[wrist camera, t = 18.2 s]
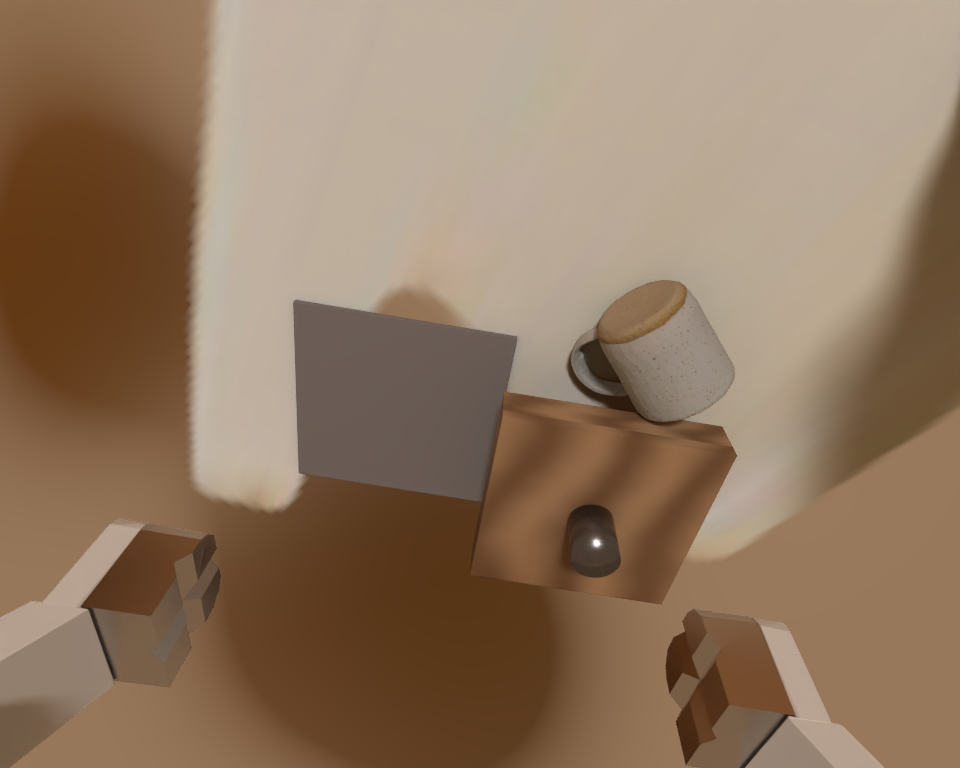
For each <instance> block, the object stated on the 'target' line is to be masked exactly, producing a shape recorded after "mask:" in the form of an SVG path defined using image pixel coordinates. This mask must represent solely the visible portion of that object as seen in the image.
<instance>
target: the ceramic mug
mask: <svg viewBox="0 0 960 768" xmlns="http://www.w3.org/2000/svg"><path fill="white" fill-rule="evenodd" d="M598 339H599V342H600V345H601V347H602V350H603V352H604V354H605V356H606V357H607V359H608V361H609V363H610V364H611V366H612V367H613V369H614V370H615V372H616V374H617V376H618V377H619V379H620V381H621V383H619V382H610V381H606V380H603V379H601V378H598V377H596V376H595V375H594V374H593V373H591V371H590V370H589V368H588V366H587V364H586V362H585V360H584V354H583V353H582V352H581V350H580V348H581V347H582V346H583V345H585V344H587V343H589V342H591V341H594V340H598ZM571 366H572V369H573V371H574V373H575V375H576V377H577V378H578V379H579V381H580V382H581V383H582V384H583V385H585V386H586V387H587V388H589V389H591V390H593V391H595V392H597V393H600V394H604V395H609V396H629V398H630V400H631V401H632V403H633V405H634V407H635V408H636V410H637V411H638V413H639V414H640V415H641V416H643V417H644V418H646V419H648V420H652V421H657V422H670V421H677V420H681V419H685V418H688V417H690V416H693V415H696V414H698V413H700V412H702V411H704V410H705V409H707V408H709V407H710V406H712V405H713V404H714V403H716V402H717V401H718V400H719V399H721V398H722V396H723V395H725V393H726V392H727V390H728V389H729V388H730V386H731V384H732V382H733V380H734V375H735V371H734V366H733V363H732V361H731V360H730V358H729V356H728V355H727V353H726V351H725V349H724V348H723V346H722V344H721V342H720V341H719V339H718V337H717V335H716V333H715V331H714V330H713V328H712V327H711V325H710V323H709V322H708V320H707V318H706V316H705V314H704V313H703V311H702V309H701V307H700V305H699V303H698V301H697V300H696V298H695V297H694V296H693V295H692V294H691V292H690V291H689V290H688V289H687V288H686V287H685V286H684V285H683V284H681V283H680V282H676V281H669V280H661V281H655V282H651V283H647V284H645V285H643V286H640V287H638V288H636V289H634V290H632V291H630V292H629V293H627V294H625V295H624V296H622V297H621V298H619V299H618V300H617V301H615V302H614V303H613V304H612V305H611V306H610V307H609V308H608V309H607V310H606V311H605V313H604V314H603V315H602V317H601V319H600V321H599V324H598V327H597V328H593V329H591V330H589V331H587V332H586V333H584V334H583V335H582V336H581V337H580V338H579V339H578V340H577V342H576V344H575V345H574V348H573V350H572V353H571Z"/></svg>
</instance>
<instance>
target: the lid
mask: <svg viewBox="0 0 960 768" xmlns="http://www.w3.org/2000/svg"><path fill="white" fill-rule="evenodd" d="M736 457H737V455H736V453H735V451H734V449H733V447H732V445H731V443H730V441H729V439H728V437H727V435H726V433H725V431H724V429H723V427H721V426H715V425H709V424H702V423H696V422H690V421H684V420H677V421H670V422H657V421H652V420H648V419H646V418H644V417H643V416H641V415H640V414H639V413H634V412H628V411H621V410H615V409H609V408H603V407H597V406H590V405H584V404H578V403H572V402H565V401H559V400H553V399H547V398H540V397H534V396H528V395H522V394H516V393H509V392H504V394H503V399H502V404H501V409H500V414H499V419H498V424H497V429H496V433H495V438H494V443H493V448H492V453H491V458H490V463H489V468H488V473H487V478H486V483H485V487H484V492H483V497H482V502H481V507H480V512H479V517H478V522H477V527H476V532H475V537H474V542H473V549H472V559H471V570H470V575H473V576H479V577H486V578H493V579H499V580H505V581H512V582H518V583H525V584H531V585H538V586H545V587H551V588H557V589H565V590H571V591H578V592H584V593H591V594H597V595H604V596H610V597H616V598H623V599H630V600H636V601H642V602H650V603H656V604H662V602H663V600H664V598H665V596H666V594H667V592H668V590H669V588H670V586H671V584H672V582H673V580H674V578H675V576H676V575H677V572H678V571H679V569H680V567H681V565H682V563H683V561H684V559H685V557H686V555H687V553H688V551H689V549H690V547H691V545H692V543H693V541H694V539H695V537H696V535H697V533H698V531H699V529H700V527H701V525H702V523H703V521H704V519H705V517H706V516H707V514H708V512H709V510H710V508H711V506H712V504H713V502H714V500H715V498H716V496H717V494H718V492H719V490H720V488H721V486H722V484H723V482H724V480H725V478H726V476H727V474H728V472H729V470H730V468H731V466H732V464H733V462H734V460H735V458H736Z"/></svg>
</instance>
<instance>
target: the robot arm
mask: <svg viewBox="0 0 960 768" xmlns="http://www.w3.org/2000/svg"><path fill="white" fill-rule="evenodd" d="M216 549H217V548H216V543H215V538H214V535H210V534H205V533H200V532H194V531H189V530H184V529H178V528H173V527H167V526H162V525H156V524H151V523H145V522H139V521H133V520H127V519H121V518H120V519H118V520H116V521H115V522H113V523H111V524H110V525H108V526H107V528H106V529H105V530H104V531H103V532H102V533H101V535H100V536H99V537H98V538H97V539H96V540H95V542H94V543H93V544H92V545H91V546H90V547H89V548H88V550H87V551H86V552H85V553H84V554H83V555H82V556H81V558H80V559H79V560H78V561H77V562H76V563H75V565H74V566H73V567H72V568H71V569H70V570H69V572H68V573H67V574H66V575H65V576H64V577H63V578H62V580H61V581H60V582H59V583H58V584H57V585H56V587H55V588H54V589H53V590H52V591H51V592H50V594H49V595H48V596H47V597H46V598H45V599H44V600H43V602H41V601H31V602H29V603H27V604H25V605H23V606H21V607H19V608H17V609H15V610H13V611H12V612H10V613H8V614H6V615H4V616H2V617H0V768H9V767H11V766H12V765H13V764H15V763H16V762H17V761H18V760H20V759H21V758H22V757H23V756H25V755H26V754H27V753H29V752H30V751H31V750H32V749H34V748H35V747H36V746H37V745H39V744H40V743H41V742H42V741H44V740H45V739H46V738H47V737H49V736H50V735H51V734H53V733H54V732H55V731H56V730H58V729H59V728H60V727H61V726H63V725H64V724H65V723H66V722H68V721H69V720H70V719H72V718H73V717H74V716H75V715H76V714H78V713H79V712H80V711H82V710H83V709H84V708H85V707H87V706H88V705H89V704H90V703H92V702H93V701H94V700H95V699H97V698H98V697H99V696H100V695H102V694H103V693H104V692H106V691H107V690H108V689H109V688H111V687H112V686H113V685H114V684H115V682H114V681H121V682H129V683H138V684H145V685H154V686H162V687H170V686H171V684H172V682H173V680H174V679H175V677H176V675H177V673H178V671H179V670H180V668H181V666H182V664H183V663H184V661H185V659H186V657H187V655H188V653H189V652H190V650H191V642H190V637H189V634H190V633H191V632H193V631H194V630H195V629H197V628H199V627H200V626H201V625H203V624H204V623H205V622H206V621H207V619H208V617H209V615H210V613H211V611H212V609H213V607H214V604H215V601H216V598H217V595H218V592H219V588H220V578H221V575H220V568H219V566H218V565H217V564H216V563H215V562H214V561H213V560H212V559H211V558H212V556H213V554H214V552H215V551H216ZM683 625H684V629H685V632H683V633H681V634H679V635H677V636H675V637H673V640H672V642H671V644H670V646H669V648H668V651H667V658H666V679H667V684H668V689H669V693H670V695H671V696H672V698H673V699H674V700H675V701H676V703H677V704H678V705H679V706H680V708H681V709H682V710H681V712H680V714H679V716H678V718H677V720H676V725H677V729H678V734H679V737H680V742H681V746H682V751H683V755H684V759H685V764H686V765H688V766H693V767H699V768H884V767H883V766H882V765H881V764H880V763H879V762H878V761H877V760H876V759H875V758H874V757H873V756H872V755H871V754H870V753H869V752H868V751H867V750H866V749H865V748H864V747H863V746H862V745H861V744H860V743H859V742H858V741H857V740H856V739H855V738H854V737H853V736H852V735H851V734H850V733H849V732H848V731H847V730H846V729H845V728H844V727H843V726H842V725H841V724H837V723H832V722H831V720H830V719H829V716H828V714H827V712H826V709H825V707H824V706H823V703H822V701H821V699H820V696H819V694H818V692H817V690H816V688H815V685H814V683H813V681H812V679H811V677H810V675H809V672H808V670H807V668H806V666H805V664H804V662H803V659H802V657H801V655H800V653H799V651H798V648H797V646H796V644H795V642H794V640H793V637H792V635H791V633H790V631H789V629H788V628H787V627H786V626H785V625H784V624H783V623H781V622H775V621H769V620H762V619H755V618H749V617H747V616H740V615H733V614H726V613H718V612H712V611H704V610H698V609H693V610H691V611H689V612H688V613H687V615H686V616H685V618H684V620H683Z"/></svg>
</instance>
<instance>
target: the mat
mask: <svg viewBox="0 0 960 768" xmlns="http://www.w3.org/2000/svg"><path fill="white" fill-rule="evenodd" d="M293 308H294V339H295V370H296V401H297V431H298V462H299V473H302V474H308V475H315V476H322V477H328V478H334V479H340V480H346V481H352V482H359V483H365V484H371V485H377V486H384V487H391V488H396V489H403V490H409V491H415V492H421V493H428V494H434V495H440V496H447V497H453V498H459V499H465V500H472V501H479V502H482V497H483V492H484V487H485V483H486V478H487V473H488V468H489V463H490V458H491V453H492V448H493V443H494V438H495V433H496V429H497V424H498V419H499V414H500V409H501V404H502V399H503V394H504V392H506V390H507V385H508V380H509V376H510V371H511V366H512V361H513V357H514V352H515V347H516V342H517V337H516V336H510V335H504V334H498V333H492V332H486V331H480V330H474V329H468V328H462V327H456V326H450V325H444V324H437V323H431V322H425V321H419V320H413V319H408V318H401V317H396V316H389V315H383V314H377V313H371V312H365V311H359V310H353V309H347V308H341V307H335V306H329V305H323V304H317V303H311V302H305V301H299V300H295V301H294V302H293Z"/></svg>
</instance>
